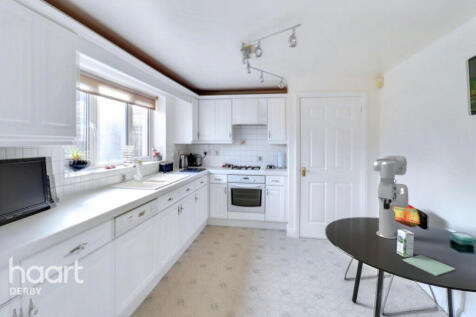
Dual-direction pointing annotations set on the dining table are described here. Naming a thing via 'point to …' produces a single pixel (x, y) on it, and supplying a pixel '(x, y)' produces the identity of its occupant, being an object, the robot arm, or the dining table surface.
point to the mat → (429, 265)
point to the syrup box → (405, 243)
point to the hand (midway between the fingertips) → (386, 209)
